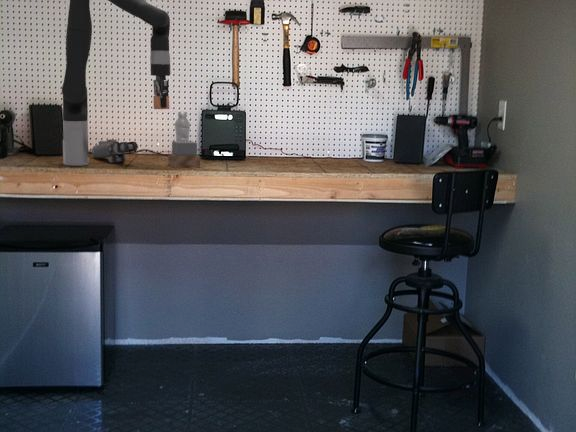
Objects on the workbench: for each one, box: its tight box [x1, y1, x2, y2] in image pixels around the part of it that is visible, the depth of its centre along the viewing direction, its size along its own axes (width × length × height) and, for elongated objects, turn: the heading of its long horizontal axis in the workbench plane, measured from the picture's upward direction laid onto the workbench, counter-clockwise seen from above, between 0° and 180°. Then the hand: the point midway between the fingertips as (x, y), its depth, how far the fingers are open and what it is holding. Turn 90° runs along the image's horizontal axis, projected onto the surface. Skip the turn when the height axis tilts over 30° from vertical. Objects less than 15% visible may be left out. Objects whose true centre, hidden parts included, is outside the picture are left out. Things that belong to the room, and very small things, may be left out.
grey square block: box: [171, 140, 198, 156], centre depth 302 cm, size 8×8×5 cm
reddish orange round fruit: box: [152, 95, 170, 110], centre depth 294 cm, size 6×6×5 cm
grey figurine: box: [174, 111, 191, 141], centre depth 324 cm, size 6×7×20 cm
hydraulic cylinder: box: [91, 138, 139, 165], centre depth 310 cm, size 7×37×10 cm, turn 37°
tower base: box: [167, 152, 201, 169], centre depth 303 cm, size 10×10×5 cm
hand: (161, 107), depth 295 cm, fingers closed on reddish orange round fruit, 6 cm apart
